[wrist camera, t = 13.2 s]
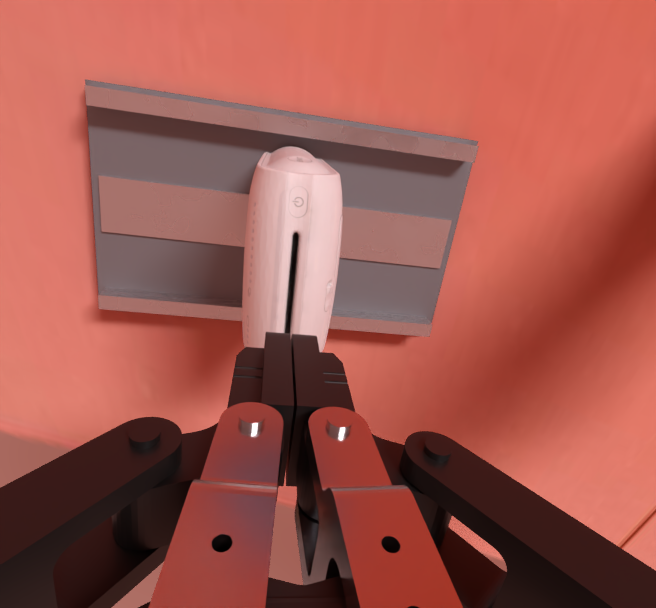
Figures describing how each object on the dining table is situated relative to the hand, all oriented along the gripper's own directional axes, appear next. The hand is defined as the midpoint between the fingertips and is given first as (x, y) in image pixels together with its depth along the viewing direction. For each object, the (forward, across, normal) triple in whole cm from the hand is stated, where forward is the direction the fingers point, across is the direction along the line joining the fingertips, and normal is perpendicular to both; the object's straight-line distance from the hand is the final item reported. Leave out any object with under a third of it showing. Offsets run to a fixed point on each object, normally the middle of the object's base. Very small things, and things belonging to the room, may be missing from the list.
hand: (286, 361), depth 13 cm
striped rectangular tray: (+19, 0, 0) cm, 19 cm away
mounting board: (+19, 0, 0) cm, 19 cm away
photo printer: (+18, 0, 0) cm, 18 cm away
